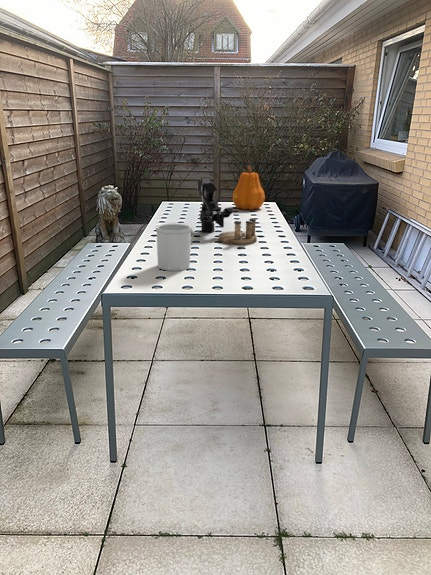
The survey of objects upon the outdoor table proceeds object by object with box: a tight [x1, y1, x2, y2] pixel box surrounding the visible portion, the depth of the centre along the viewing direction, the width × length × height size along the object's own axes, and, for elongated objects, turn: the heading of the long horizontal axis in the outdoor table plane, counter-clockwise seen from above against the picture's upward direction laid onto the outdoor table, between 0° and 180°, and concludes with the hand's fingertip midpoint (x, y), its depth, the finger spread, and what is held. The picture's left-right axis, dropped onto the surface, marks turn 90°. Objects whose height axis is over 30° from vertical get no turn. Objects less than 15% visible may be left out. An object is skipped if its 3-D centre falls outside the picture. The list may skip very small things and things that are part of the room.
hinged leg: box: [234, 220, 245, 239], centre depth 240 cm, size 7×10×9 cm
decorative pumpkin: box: [232, 164, 266, 211], centre depth 332 cm, size 24×24×30 cm
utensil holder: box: [155, 222, 192, 272], centre depth 198 cm, size 15×15×18 cm
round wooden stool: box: [218, 218, 258, 246], centre depth 245 cm, size 20×20×11 cm
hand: (222, 227), depth 246 cm, fingers closed
